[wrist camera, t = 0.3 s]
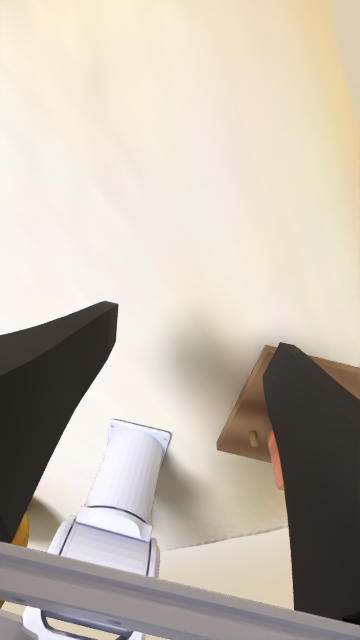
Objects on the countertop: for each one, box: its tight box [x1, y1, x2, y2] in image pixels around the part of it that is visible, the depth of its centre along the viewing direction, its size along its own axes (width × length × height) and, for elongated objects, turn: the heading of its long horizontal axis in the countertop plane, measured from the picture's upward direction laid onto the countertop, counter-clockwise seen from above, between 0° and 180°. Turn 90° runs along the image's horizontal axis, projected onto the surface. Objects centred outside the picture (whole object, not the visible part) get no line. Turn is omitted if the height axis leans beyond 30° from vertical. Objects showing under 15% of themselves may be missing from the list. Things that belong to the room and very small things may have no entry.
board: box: [217, 345, 360, 463], centre depth 25 cm, size 16×12×2 cm
